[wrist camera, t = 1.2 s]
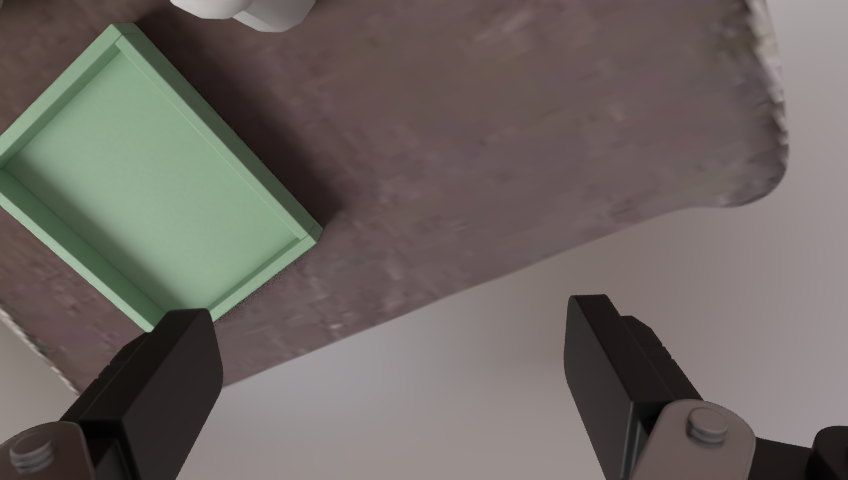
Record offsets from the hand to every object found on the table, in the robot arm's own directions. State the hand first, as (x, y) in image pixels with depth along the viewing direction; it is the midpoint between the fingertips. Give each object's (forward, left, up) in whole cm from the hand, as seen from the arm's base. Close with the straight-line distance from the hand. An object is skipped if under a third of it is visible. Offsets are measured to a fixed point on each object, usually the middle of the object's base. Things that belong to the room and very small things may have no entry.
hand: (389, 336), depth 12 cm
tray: (-7, -17, -26) cm, 32 cm away
